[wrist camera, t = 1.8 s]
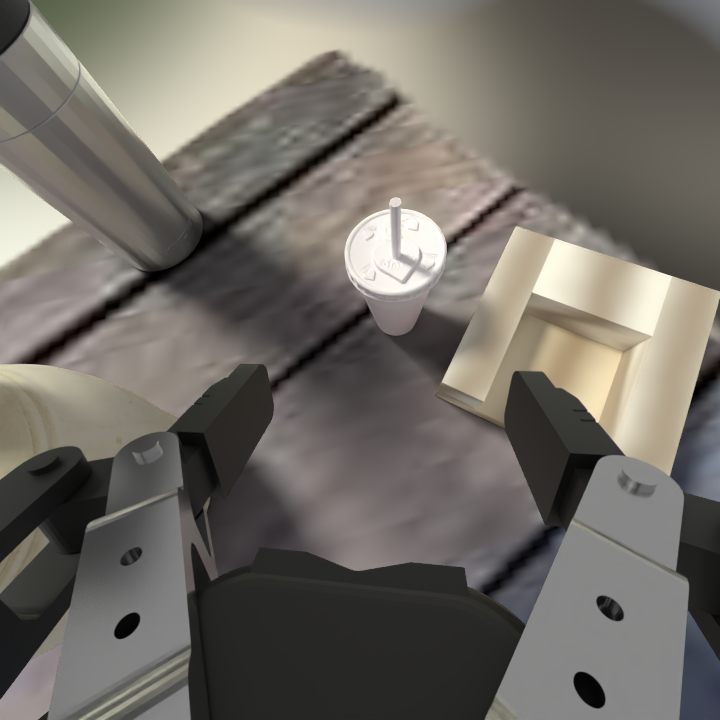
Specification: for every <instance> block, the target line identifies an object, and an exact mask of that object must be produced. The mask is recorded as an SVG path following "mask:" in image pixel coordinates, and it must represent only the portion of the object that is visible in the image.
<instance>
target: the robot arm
mask: <svg viewBox="0 0 720 720" xmlns="http://www.w3.org/2000/svg"><path fill="white" fill-rule="evenodd" d="M0 168H1V169H2V170H3V171H5V172H6V173H8V174H9V175H11V176H12V177H13V178H14V179H16V180H17V181H18V182H20V183H21V184H23V185H24V186H25V187H27V188H28V189H29V190H31V191H32V192H33V193H35V194H36V195H37V196H39V197H40V198H41V199H43V200H44V201H45V202H47V203H48V204H49V205H51V206H52V207H54V208H55V209H56V210H58V211H59V212H60V213H62V214H63V215H64V216H66V217H67V218H68V219H70V220H71V221H72V222H74V223H75V224H77V225H78V226H79V227H81V228H82V229H83V230H85V231H86V232H87V233H89V234H90V235H91V236H93V237H94V238H95V239H97V240H98V241H99V242H101V243H102V244H103V245H105V246H106V247H107V248H109V249H110V250H111V251H113V252H114V253H115V254H117V255H118V256H120V257H121V258H122V259H124V260H125V261H126V262H128V263H129V264H130V265H132V266H133V267H135V268H137V269H139V270H143V271H160V270H165V269H168V268H170V267H173V266H175V265H176V264H178V263H180V262H181V261H183V260H184V259H185V258H186V257H188V256H189V255H190V253H191V252H192V251H193V250H194V249H195V247H196V246H197V244H198V242H199V240H200V238H201V235H202V230H203V221H202V217H201V215H200V213H199V211H198V210H197V209H196V208H195V206H194V205H193V204H192V202H191V201H190V200H189V199H188V197H187V196H186V195H185V194H184V192H183V191H182V190H181V189H180V187H179V186H178V185H177V183H176V182H175V181H174V179H173V178H172V177H171V176H170V174H169V173H168V172H167V171H166V169H165V168H164V167H163V166H162V164H161V163H160V162H159V161H158V159H157V158H156V157H155V156H154V154H153V153H152V152H151V151H150V149H149V148H148V147H147V145H146V144H145V143H144V142H143V140H142V139H141V138H140V137H139V135H138V134H137V133H136V132H135V130H134V129H133V128H132V127H131V125H130V124H129V123H128V122H127V120H126V119H125V118H124V117H123V116H122V114H121V113H120V112H119V110H118V109H117V108H116V107H115V106H114V104H113V103H112V102H111V100H110V99H109V98H108V97H107V95H106V94H105V93H104V92H103V90H102V89H101V88H100V87H99V85H98V84H97V83H96V82H95V80H94V79H93V78H92V77H91V76H90V74H89V73H88V72H87V70H86V69H85V68H84V66H83V65H82V64H81V63H80V61H79V60H78V59H77V58H76V57H75V56H74V54H73V53H72V52H71V51H70V49H69V48H68V47H67V46H66V44H65V43H64V42H63V41H62V39H61V38H60V37H59V36H58V34H57V33H56V32H55V31H54V29H53V28H52V27H51V26H50V24H49V23H48V22H47V20H46V19H45V18H44V17H43V15H42V14H41V13H40V12H39V10H38V9H37V8H36V7H35V5H34V4H33V3H32V2H31V1H30V0H0ZM273 411H274V403H273V398H272V393H271V388H270V383H269V378H268V373H267V369H266V367H265V366H264V365H262V364H240V365H239V366H238V367H237V368H236V369H235V370H234V371H233V372H232V373H231V374H230V375H229V376H228V378H224V379H222V380H221V381H219V382H217V383H215V384H214V385H212V386H211V387H210V388H209V389H208V390H207V391H206V392H205V393H204V394H203V395H202V397H200V398H199V399H198V400H197V401H196V402H195V403H194V405H192V406H191V407H190V408H189V409H188V410H187V411H186V412H185V413H184V414H183V415H182V416H181V417H180V418H179V419H178V420H177V421H176V422H175V423H174V424H173V425H172V426H171V427H170V428H169V429H168V430H167V431H166V432H163V431H162V432H154V433H150V434H147V435H144V436H141V437H139V438H137V439H135V440H133V441H131V442H130V443H128V444H127V445H125V446H124V447H123V448H122V449H121V450H120V451H119V452H118V453H117V454H116V456H115V457H110V458H105V459H99V460H93V461H87V459H86V457H85V456H84V454H83V452H82V451H81V449H80V448H78V447H75V446H65V447H59V448H55V449H51V450H48V451H45V452H43V453H40V454H38V455H36V456H34V457H32V458H30V459H28V460H27V461H25V462H23V463H22V464H21V465H19V466H18V467H16V468H15V469H14V470H12V471H11V472H10V473H8V474H7V475H6V476H4V477H3V478H2V479H0V563H1V562H2V561H3V560H4V559H5V558H6V557H7V556H8V555H9V554H10V553H11V552H12V551H13V550H14V549H15V548H16V547H17V546H18V545H19V544H20V543H21V542H22V541H23V540H24V539H26V538H27V537H28V536H29V535H30V534H31V533H32V532H33V531H34V530H35V529H36V528H37V527H39V529H40V530H41V531H42V533H43V534H44V535H45V536H46V538H47V539H48V540H49V543H48V544H47V545H46V546H45V547H44V548H43V549H42V550H41V551H40V552H39V553H38V554H37V556H36V557H35V558H34V559H33V560H32V561H31V562H30V563H29V564H28V565H27V566H26V567H25V568H24V569H23V570H22V571H21V572H20V573H19V574H18V575H17V577H16V578H15V579H14V580H13V581H12V582H11V583H10V584H9V585H8V586H7V587H6V588H5V589H4V590H3V591H2V592H1V593H0V699H1V698H2V697H3V695H4V694H5V693H6V691H7V690H8V689H9V687H10V686H11V685H12V683H13V682H14V681H15V679H16V678H17V677H18V675H19V674H20V673H21V671H22V670H23V669H24V667H25V666H26V665H27V663H28V662H29V661H30V659H31V658H32V657H33V655H34V654H35V653H36V651H37V650H38V649H39V647H40V646H41V645H42V643H43V642H44V641H45V639H46V638H47V637H48V635H49V634H50V633H51V631H52V630H53V629H54V627H55V626H56V625H57V623H58V622H59V621H60V619H61V618H62V617H63V616H64V614H65V613H66V612H67V610H68V609H69V608H70V609H69V614H68V619H67V624H66V629H65V634H64V639H63V644H62V649H61V654H60V659H59V664H58V669H57V674H56V679H55V684H54V689H53V694H52V699H51V703H50V708H49V711H48V712H47V713H46V714H44V715H43V716H42V717H41V718H40V719H38V720H679V715H680V702H681V689H682V675H683V662H684V649H685V636H686V623H687V610H688V611H689V612H690V614H691V615H692V617H693V619H694V620H695V622H696V623H697V625H698V627H699V628H700V630H701V631H702V633H703V635H704V636H705V638H706V640H707V641H708V643H709V644H710V646H711V648H712V649H713V651H714V652H715V654H716V656H717V657H718V659H719V660H720V502H717V501H713V500H709V499H706V498H702V497H698V496H694V495H691V494H687V493H684V492H682V490H681V488H680V487H679V485H678V484H677V483H676V482H675V481H674V480H673V479H672V478H671V477H670V476H668V475H667V474H666V473H664V472H663V471H661V470H660V469H658V468H656V467H654V466H653V465H651V464H648V463H646V462H644V461H641V460H638V459H635V458H632V457H627V456H626V455H625V454H624V453H623V452H622V451H621V449H620V448H619V447H618V446H617V445H616V443H615V442H614V441H613V440H612V439H611V437H610V436H609V435H608V434H607V433H606V431H605V430H604V429H603V428H602V427H601V425H600V424H599V423H597V422H596V420H595V418H594V417H593V416H592V415H591V414H590V412H587V409H586V408H585V406H584V405H583V404H582V403H581V402H580V400H579V399H578V398H577V397H575V396H573V395H572V394H570V393H569V392H567V391H566V390H564V389H563V388H556V387H555V386H554V385H553V384H552V382H551V381H550V380H549V378H548V377H547V376H546V374H545V373H544V372H542V371H515V372H514V373H513V375H512V379H511V383H510V388H509V393H508V398H507V403H506V408H505V413H504V424H505V430H506V433H507V435H508V438H509V440H510V442H511V445H512V447H513V450H514V452H515V454H516V457H517V459H518V461H519V464H520V466H521V469H522V471H523V473H524V476H525V478H526V480H527V483H528V485H529V488H530V490H531V492H532V495H533V497H534V499H535V502H536V504H537V507H538V509H539V511H540V514H541V516H542V518H543V521H544V523H545V525H549V526H561V527H564V528H565V530H566V534H565V537H564V539H563V541H562V544H561V546H560V548H559V550H558V553H557V555H556V557H555V560H554V562H553V564H552V567H551V569H550V571H549V574H548V576H547V578H546V581H545V583H544V585H543V587H542V590H541V592H540V594H539V597H538V599H537V601H536V604H535V606H534V608H533V611H532V613H531V615H530V617H529V620H528V622H527V624H526V625H525V624H524V623H523V622H522V621H521V620H520V619H519V618H518V617H516V616H515V615H514V614H513V613H511V612H510V611H509V610H508V609H506V608H505V607H504V606H503V605H501V604H499V603H498V602H496V601H495V600H493V599H492V598H490V597H488V596H487V595H485V594H483V593H481V592H479V591H477V590H475V589H472V588H470V587H467V581H466V575H465V568H463V567H452V566H442V565H432V564H422V563H412V562H410V563H405V564H399V565H393V566H387V567H381V568H375V569H369V570H364V571H353V570H350V569H348V568H345V567H343V566H340V565H338V564H335V563H333V562H330V561H328V560H325V559H323V558H320V557H318V556H315V555H313V554H310V553H308V552H300V551H290V550H280V549H270V548H259V550H258V553H257V555H256V558H255V560H254V563H253V565H249V566H245V567H242V568H238V569H235V570H233V571H230V572H228V573H226V574H223V575H221V576H218V572H217V568H216V563H215V557H214V551H213V546H212V540H211V534H210V529H209V523H208V518H207V512H206V509H205V507H204V505H205V503H206V501H207V500H208V498H209V497H213V498H226V497H227V495H228V494H229V492H230V490H231V489H232V487H233V485H234V483H235V482H236V480H237V478H238V477H239V475H240V473H241V471H242V470H243V468H244V466H245V465H246V463H247V461H248V459H249V458H250V456H251V454H252V453H253V451H254V449H255V447H256V446H257V444H258V442H259V441H260V439H261V437H262V435H263V434H264V432H265V430H266V428H267V427H268V425H269V423H270V422H271V420H272V417H273Z"/></svg>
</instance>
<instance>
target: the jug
mask: <svg viewBox="0 0 720 720" xmlns="http://www.w3.org/2000/svg"><path fill="white" fill-rule="evenodd" d="M177 420H178V418H176V417H174V416H173V415H171V414H169V413H167V412H165V411H163V410H161V409H159V408H158V407H156V406H154V405H153V404H151V403H149V402H148V401H146V400H145V399H143V398H141V397H139V396H137V395H136V394H134V393H132V392H130V391H128V390H126V389H124V388H122V387H120V386H118V385H115V384H113V383H110V382H108V381H105V380H103V379H100V378H97V377H94V376H91V375H88V374H84V373H80V372H76V371H72V370H68V369H63V368H58V367H53V366H46V365H34V364H8V365H0V479H2V478H3V477H4V476H6V475H7V474H8V473H10V472H11V471H12V470H14V469H15V468H16V467H18V466H19V465H21V464H22V463H23V462H25V461H27V460H28V459H30V458H32V457H34V456H36V455H38V454H40V453H43V452H45V451H48V450H51V449H55V448H59V447H65V446H75V447H78V448H80V449H81V451H82V452H83V454H84V456H85V457H86V459H87V461H93V460H99V459H105V458H110V457H115V456H116V454H117V453H118V452H119V451H120V450H121V449H122V448H123V447H124V446H125V445H127V444H128V443H130V442H131V441H133V440H135V439H137V438H139V437H141V436H144V435H147V434H150V433H154V432H162V431H163V432H166V431H167V430H168V429H169V428H170V427H171V426H172V425H173V424H174V423H175V422H176V421H177ZM210 498H211V497H209V498H208V500H207V501H206V503H205V505H204V507H205V509H206V512H207V509H208V506H209V503H210ZM48 543H49V540H48V539H47V538H46V536H45V535H44V534H43V533H42V531H41V530H40V529H39V527H37V528H36V529H35V530H34V531H33V532H32V533H31V534H30V535H29V536H28V537H27V538H26V539H24V540H23V541H22V542H21V543H20V544H19V545H18V546H17V547H16V548H15V549H14V550H13V551H12V552H11V553H10V554H9V555H8V556H7V557H6V558H5V559H4V560H3V561H2V562H1V563H0V593H1V592H2V591H3V590H4V589H5V588H6V587H7V586H8V585H9V584H10V583H11V582H12V581H13V580H14V579H15V578H16V577H17V575H18V574H19V573H20V572H21V571H22V570H23V569H24V568H25V567H26V566H27V565H28V564H29V563H30V562H31V561H32V560H33V559H34V558H35V557H36V556H37V554H38V553H39V552H40V551H41V550H42V549H43V548H44V547H45V546H46V545H47V544H48ZM69 609H70V608H69ZM69 609H68V610H67V612H66V613H65V614H64V616H63V617H62V618H61V619H60V621H59V622H58V623H57V625H56V626H55V627H54V629H53V630H52V631H51V633H50V634H49V635H48V637H47V638H46V639H45V641H44V642H43V643H42V645H41V646H40V647H39V649H38V650H37V651H36V653H35V654H34V655H33V657H32V658H31V659H30V660H32V659H34V658H36V657H38V656H40V655H42V654H44V653H45V652H47V651H49V650H51V649H53V648H54V647H56V646H58V645H59V644H61V643H63V639H64V634H65V629H66V624H67V619H68V614H69Z"/></svg>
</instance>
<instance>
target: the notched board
mask: <svg viewBox="0 0 720 720" xmlns="http://www.w3.org/2000/svg"><path fill="white" fill-rule="evenodd" d="M719 299H720V292H719V291H716V290H713V289H710V288H707V287H704V286H700V285H697V284H694V283H691V282H688V281H685V280H682V279H679V278H676V277H673V276H669V275H666V274H663V273H660V272H657V271H654V270H651V269H648V268H645V267H641V266H638V265H635V264H632V263H629V262H626V261H623V260H620V259H617V258H613V257H610V256H607V255H604V254H601V253H598V252H595V251H592V250H589V249H585V248H582V247H579V246H576V245H573V244H570V243H567V242H564V241H560V240H557V239H554V238H551V237H548V236H545V235H542V234H539V233H536V232H532V231H529V230H526V229H523V228H520V227H517V226H516V227H515V229H514V231H513V233H512V235H511V237H510V239H509V242H508V244H507V246H506V248H505V250H504V252H503V254H502V256H501V258H500V260H499V262H498V264H497V266H496V268H495V270H494V272H493V274H492V277H491V279H490V281H489V283H488V285H487V287H486V289H485V291H484V293H483V295H482V298H481V300H480V302H479V304H478V306H477V308H476V310H475V312H474V314H473V316H472V319H471V321H470V323H469V325H468V327H467V329H466V331H465V333H464V335H463V337H462V340H461V342H460V344H459V346H458V348H457V350H456V352H455V354H454V356H453V358H452V361H451V363H450V365H449V367H448V369H447V371H446V373H445V375H444V377H443V379H442V382H441V384H440V386H439V388H438V390H437V392H436V394H435V395H436V396H438V397H440V398H442V399H444V400H446V401H448V402H450V403H452V404H454V405H457V406H459V407H461V408H463V409H465V410H467V411H469V412H471V413H473V414H475V415H477V416H480V417H482V418H484V419H486V420H488V421H490V422H492V423H494V424H496V425H498V426H500V427H503V428H505V424H504V413H505V408H506V403H507V398H508V393H509V388H510V383H511V379H512V375H513V373H514V372H515V371H542V372H544V373H545V374H546V376H547V377H548V378H549V380H550V381H551V382H552V384H553V385H554V386H555V387H556V388H563V389H564V390H566V391H567V392H569V393H570V394H572V395H573V396H575V397H577V398H578V399H579V400H580V402H581V403H582V404H583V405H584V406H585V408H586V409H587V412H590V414H591V415H592V416H593V417H594V418H595V420H596V422H597V423H599V424H600V425H601V427H602V428H603V429H604V430H605V431H606V433H607V434H608V435H609V436H610V437H611V439H612V440H613V441H614V442H615V443H616V445H617V446H618V447H619V448H620V449H621V451H622V452H623V453H624V454H625V455H626V456H627V457H632V458H635V459H638V460H641V461H644V462H646V463H648V464H651V465H653V466H654V467H656V468H658V469H660V470H661V471H663V472H664V473H666V474H667V475H668V476H670V473H671V470H672V466H673V463H674V459H675V456H676V452H677V448H678V445H679V441H680V438H681V434H682V431H683V427H684V423H685V420H686V416H687V413H688V409H689V406H690V402H691V399H692V395H693V391H694V388H695V384H696V381H697V377H698V374H699V370H700V366H701V363H702V359H703V356H704V352H705V349H706V345H707V341H708V338H709V334H710V331H711V327H712V324H713V320H714V316H715V313H716V309H717V305H718V302H719Z"/></svg>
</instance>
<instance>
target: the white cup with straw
mask: <svg viewBox="0 0 720 720" xmlns="http://www.w3.org/2000/svg"><path fill="white" fill-rule="evenodd" d="M446 253H447V247H446V241H445V238H444V235H443V233H442V231H441V230H440V228H439V227H438V226H437V224H436V223H435V222H434V221H432V220H431V219H430V218H428V217H427V216H425V215H423V214H421V213H419V212H416V211H412V210H407V209H401V200H400V199H399V198H392V199H391V200H390V209H389V210H384V211H380V212H377V213H375V214H372V215H371V216H369V217H367V218H365V219H364V220H363V221H361V222H360V223H359V224H358V225H357V226H356V227H355V228H354V229H353V231H352V232H351V234H350V235H349V237H348V240H347V242H346V246H345V255H344V256H345V263H346V270H347V273H348V276H349V279H350V280H351V282H352V283H353V284H354V286H355V287H356V288H357V289H358V290H359V291H360V292H361V293H362V294H363V296H364V298H365V301H366V303H367V305H368V307H369V309H370V311H371V313H372V315H373V317H374V319H375V321H376V323H377V325H378V327H379V328H380V329H381V330H382V331H383V332H384V333H386V334H389V335H393V336H399V335H403V334H406V333H408V332H409V331H410V330H411V329H412V328H413V327H414V325H415V323H416V321H417V319H418V317H419V314H420V312H421V310H422V307H423V305H424V303H425V300H426V298H427V296H428V293H429V291H430V289H431V288H432V287H433V286H434V285H435V284H436V283H437V282H438V280H439V278H440V277H441V275H442V273H443V271H444V267H445V262H446Z"/></svg>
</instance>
